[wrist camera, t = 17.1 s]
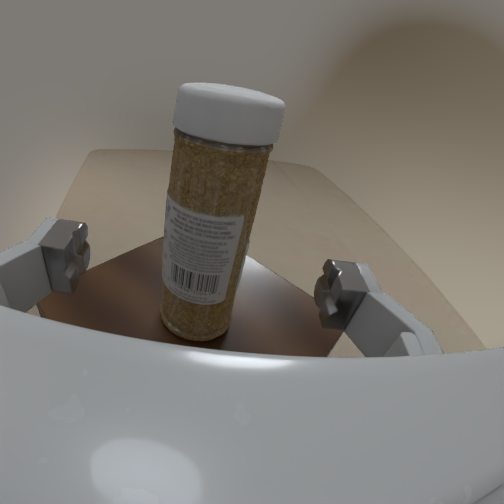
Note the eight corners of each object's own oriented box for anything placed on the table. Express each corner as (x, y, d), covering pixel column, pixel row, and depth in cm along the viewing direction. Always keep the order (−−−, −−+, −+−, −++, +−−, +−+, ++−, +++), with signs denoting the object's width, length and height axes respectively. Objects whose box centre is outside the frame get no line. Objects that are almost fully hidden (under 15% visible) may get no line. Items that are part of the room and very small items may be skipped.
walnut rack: (193, 509, 15) (203, 496, 10) (62, 367, 21) (33, 295, 16) (309, 382, 27) (350, 320, 21) (187, 292, 33) (196, 222, 28)
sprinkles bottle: (242, 311, 20) (301, 101, 13) (207, 357, 16) (262, 101, 9) (185, 281, 21) (216, 80, 14) (144, 319, 18) (156, 80, 10)
